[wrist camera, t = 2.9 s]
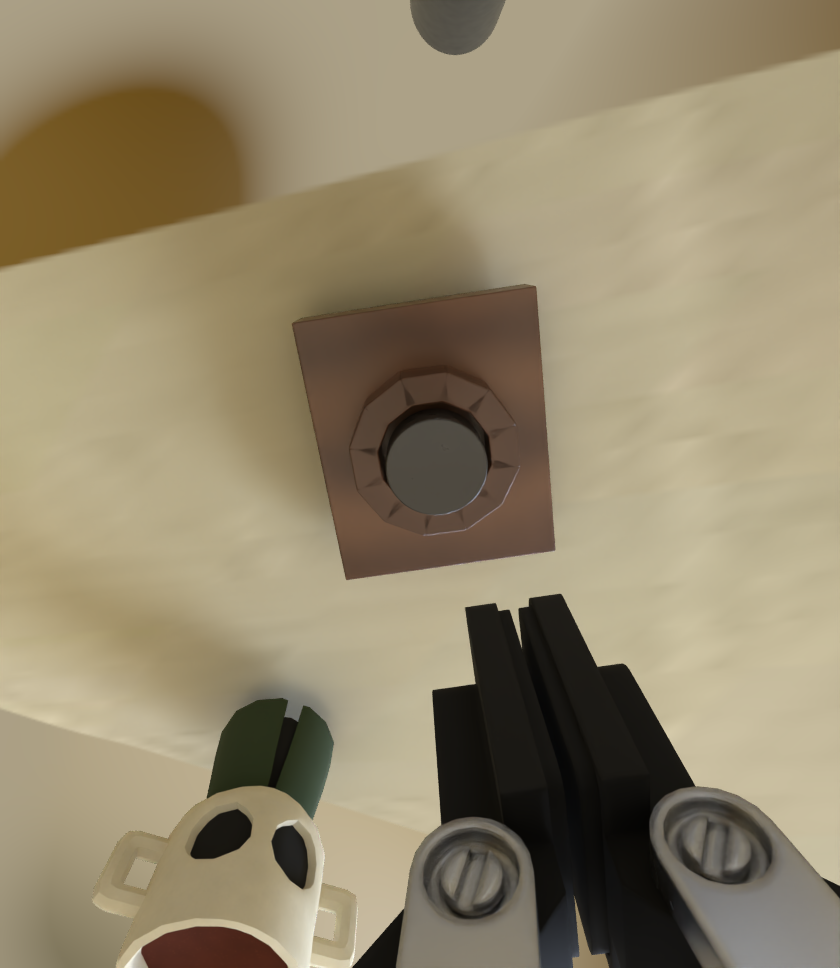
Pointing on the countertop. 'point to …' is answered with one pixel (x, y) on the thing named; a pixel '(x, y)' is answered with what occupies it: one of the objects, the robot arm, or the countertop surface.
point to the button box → (426, 385)
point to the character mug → (239, 860)
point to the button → (436, 462)
